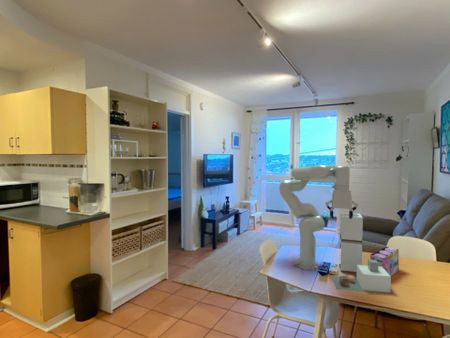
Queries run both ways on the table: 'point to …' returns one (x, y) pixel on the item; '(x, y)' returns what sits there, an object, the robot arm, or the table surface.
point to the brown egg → (351, 278)
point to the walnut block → (344, 281)
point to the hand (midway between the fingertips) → (341, 218)
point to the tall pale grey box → (351, 242)
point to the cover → (373, 277)
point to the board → (354, 286)
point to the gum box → (387, 259)
